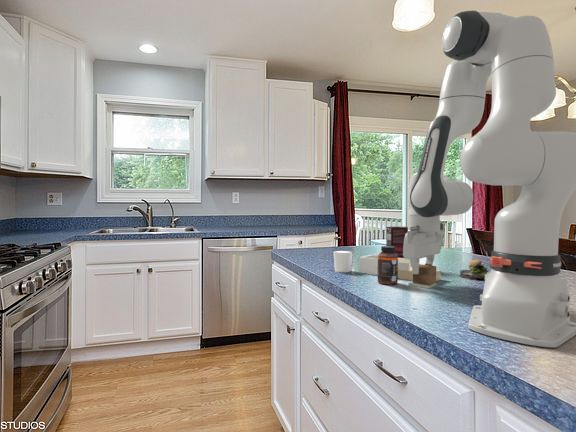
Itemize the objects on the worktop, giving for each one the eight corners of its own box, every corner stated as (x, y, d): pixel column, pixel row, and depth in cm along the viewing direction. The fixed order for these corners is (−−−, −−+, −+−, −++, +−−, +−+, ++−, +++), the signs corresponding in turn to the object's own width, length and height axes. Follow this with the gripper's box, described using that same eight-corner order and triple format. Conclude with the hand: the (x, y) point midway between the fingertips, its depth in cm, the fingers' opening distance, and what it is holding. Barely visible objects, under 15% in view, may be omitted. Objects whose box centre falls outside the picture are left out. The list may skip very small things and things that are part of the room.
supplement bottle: (400, 285, 104) (400, 247, 104) (379, 285, 104) (380, 247, 104) (394, 281, 110) (395, 245, 110) (375, 280, 110) (376, 245, 110)
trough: (430, 283, 107) (430, 265, 107) (359, 272, 124) (359, 257, 124) (440, 279, 113) (440, 262, 113) (371, 269, 130) (371, 254, 130)
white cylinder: (338, 268, 132) (338, 249, 132) (355, 270, 128) (355, 251, 128) (329, 271, 126) (329, 251, 126) (346, 273, 122) (347, 253, 122)
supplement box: (406, 266, 137) (406, 226, 136) (412, 269, 132) (413, 226, 131) (385, 267, 135) (385, 226, 135) (390, 269, 131) (391, 226, 130)
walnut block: (412, 282, 104) (413, 266, 104) (419, 280, 108) (419, 264, 108) (429, 285, 101) (430, 268, 101) (436, 282, 105) (436, 266, 104)
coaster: (428, 288, 101) (428, 285, 101) (408, 285, 105) (408, 282, 105) (436, 285, 105) (436, 282, 105) (416, 282, 109) (416, 279, 109)
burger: (476, 282, 110) (477, 259, 110) (451, 275, 122) (452, 253, 122) (508, 281, 113) (509, 258, 113) (480, 274, 125) (481, 253, 124)
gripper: (419, 227, 95) (419, 278, 95) (446, 224, 110) (445, 268, 110) (397, 226, 99) (396, 275, 99) (425, 223, 114) (425, 266, 114)
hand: (422, 271), depth 105 cm, fingers open, 8 cm apart
